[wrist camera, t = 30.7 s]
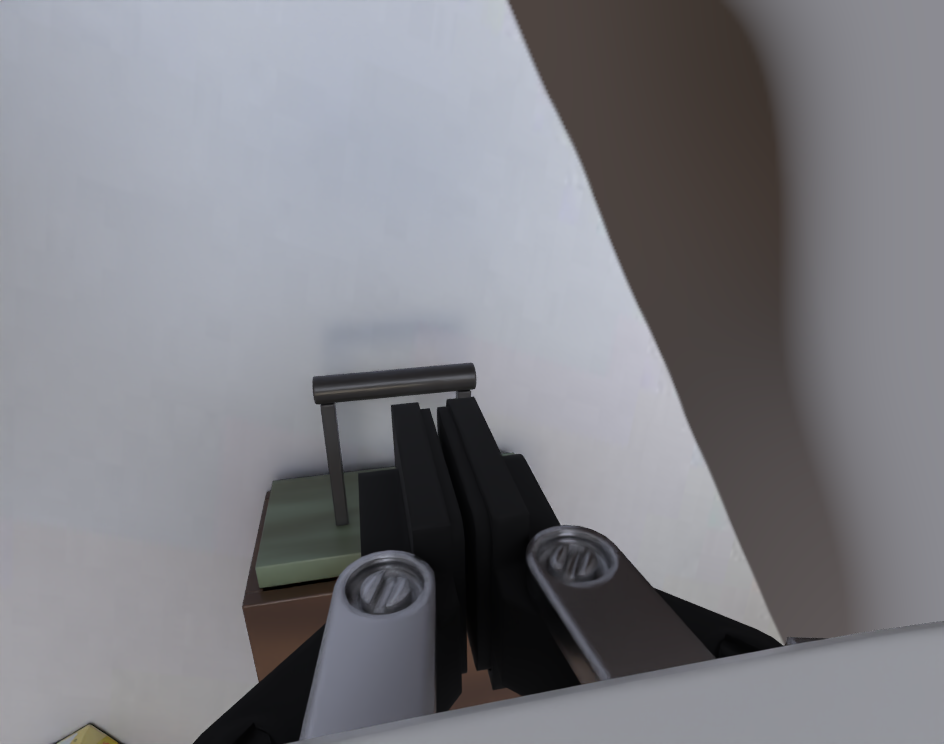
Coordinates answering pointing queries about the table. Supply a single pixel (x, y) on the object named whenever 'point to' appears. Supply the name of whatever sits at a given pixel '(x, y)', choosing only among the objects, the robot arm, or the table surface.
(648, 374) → the table surface
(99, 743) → the candy box
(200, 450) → the table surface
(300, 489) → the handled lid slab
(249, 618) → the cabinet
